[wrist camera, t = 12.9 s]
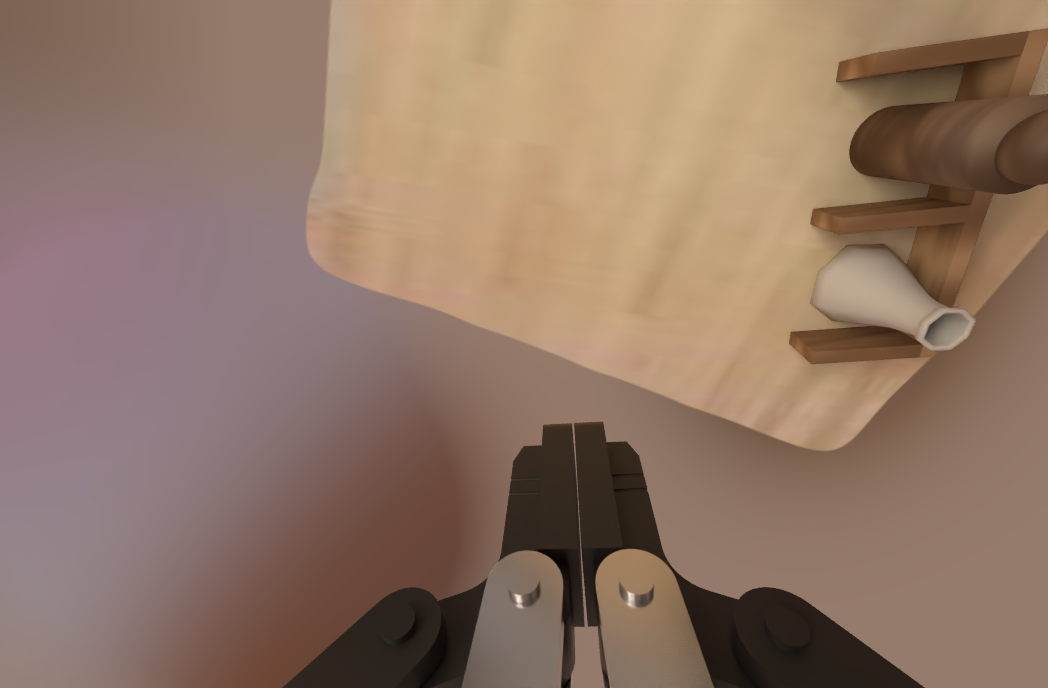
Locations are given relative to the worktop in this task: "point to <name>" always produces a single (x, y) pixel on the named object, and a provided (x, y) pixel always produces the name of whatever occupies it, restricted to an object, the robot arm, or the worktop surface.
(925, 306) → the flask
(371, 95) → the worktop surface
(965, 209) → the rack
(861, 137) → the pepper mill
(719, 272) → the worktop surface
